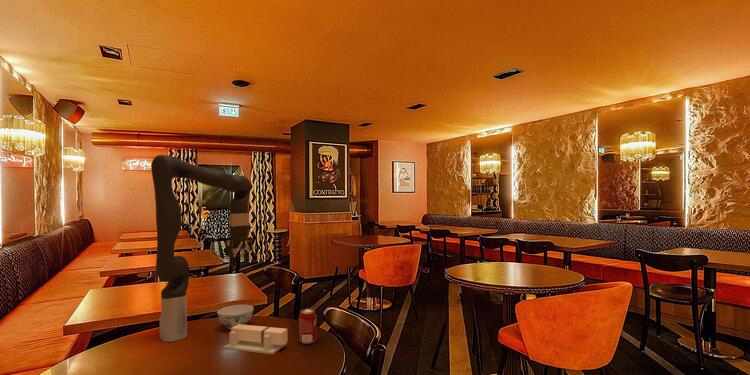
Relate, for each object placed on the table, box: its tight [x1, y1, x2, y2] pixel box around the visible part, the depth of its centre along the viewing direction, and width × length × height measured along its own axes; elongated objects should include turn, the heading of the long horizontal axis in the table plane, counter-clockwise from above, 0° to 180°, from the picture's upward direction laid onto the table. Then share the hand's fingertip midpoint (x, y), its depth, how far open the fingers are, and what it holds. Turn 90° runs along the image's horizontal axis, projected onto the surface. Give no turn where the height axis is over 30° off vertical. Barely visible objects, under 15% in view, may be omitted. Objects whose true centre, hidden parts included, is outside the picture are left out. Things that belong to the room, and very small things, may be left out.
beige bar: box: [230, 324, 289, 345], centre depth 144 cm, size 22×4×4 cm, turn 73°
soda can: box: [298, 308, 318, 345], centre depth 148 cm, size 7×7×12 cm
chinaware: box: [216, 304, 254, 331], centre depth 167 cm, size 15×15×8 cm
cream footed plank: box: [224, 331, 288, 355], centre depth 145 cm, size 21×10×6 cm, turn 73°
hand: (239, 264), depth 153 cm, fingers open, 8 cm apart
